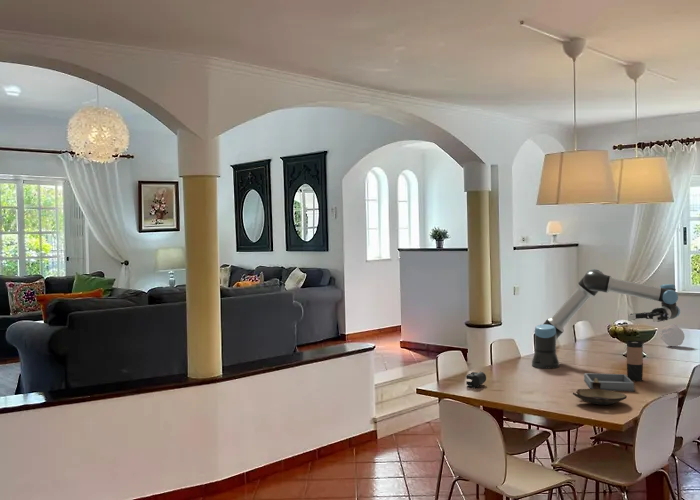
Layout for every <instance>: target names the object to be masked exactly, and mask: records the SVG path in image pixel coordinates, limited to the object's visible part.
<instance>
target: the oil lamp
mask: <svg viewBox="0 0 700 500" xmlns="http://www.w3.org/2000/svg"><path fill="white" fill-rule="evenodd" d="M592 386H593V389H590V388H580V389H577V390H576V391H574V392H573V391H572V395H573V396H575V397H576V398H578V399H580V400H582V401H584V402H586V403H589V404H593V405H600V406H601V405H602V406H603V405H606V406H607V405H608V406H609V405H612V404H616V403H618V402H621V401H624V400H625V399H627V395H626V394H625V393H622V392H620V391H609V390H602V389H600V386H601V383H599V381H598V379H597V378H595V379H594V382H593V383H592Z"/></svg>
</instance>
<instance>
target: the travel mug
mask: <svg viewBox="0 0 700 500" xmlns="http://www.w3.org/2000/svg"><path fill="white" fill-rule="evenodd" d="M643 343H644V342H643V341H641V340H636V341H632V340H627V341H626V376H627V377H628V378H629V379H630V380H631V381H632V382H643V375H644V373H643V370H644V367H643V366H644V353H643V352H644V348H643V346H644V345H643Z"/></svg>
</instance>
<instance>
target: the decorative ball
mask: <svg viewBox="0 0 700 500" xmlns="http://www.w3.org/2000/svg"><path fill="white" fill-rule="evenodd" d="M659 338H660V340H661V341H662V342H664V344H665V345H667V346H668V347H670V346H676V347H678V346H681V345H682V344H683V343H684V340H685V332H684V330H682V328H680V327H679V326H678V325H677V324H673V323H672V324H669V325H666V326H664V327H662V329H661V330H660V337H659Z"/></svg>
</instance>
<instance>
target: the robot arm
mask: <svg viewBox="0 0 700 500" xmlns="http://www.w3.org/2000/svg"><path fill="white" fill-rule="evenodd" d="M599 292H601V293H609V292H611V293H616V294H621V295H626V296H630V297H636V298H640V299H646V300H651V301H657V302H661V303H660V304H661V306H659V307H655V308H653V309H652V310H651V311H649V312H645V311H644V312H638V313H635V312H634V313H630V314H629V315H627V320H628V321H635V320H636V319H646V320H652V322H654V323H655V322H657V323H659V322H666V321H668V320H673V319H675V318H677V317H679V315H680V313H681V310H680V308H679V306H678V305H677V301H678V300H679V294H678V292H676V286H675V284H673V283H666V284H665V283H663V284H661V285H660V286H654V285H649V284H648V285H647V284H644V283H640V282H639V283H638V282H634V281H629V280H623V279H618V278H615V277H614V278H613V277H612V276H611V275H606V274H604V273H603V272H602V271H601V270H599V269H590V270H588V271H586V273H585V275H583V276H582V278H581V279H580V280H579V281H578V283H577V288H576V289H575V290H574V291H573V292H572V294H571V295H570V296H569V297H568V299H566V301H565V302H564V303H563V304H562V305H561V306H560V308H559V309H558V310H557V311H556V313H554V315H552V317H550V318H549V317H548V318H547V319H546V320H545V321H544V323H541V324H538V325H536V326H535V327H534V354H533V358H532V361H531V366H532V367H534V368H538V369H556V368H560V362H559V359H558V356H557V340H558V339H559V338H560V336H561V335H562V334H563V333H564V332H565V331H564V328H565V326H566V325H567V324H568V323H569V322H570V321H571V320H572V318H573V317H574V316H575V315H576V314H577V312H578V311H580V309H581V308H582V307H583V306H584V305H585V304H586V302H587V301H588V300H589V299H590V298H591V297H595V296H596V295H597V294H598V293H599Z"/></svg>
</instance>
